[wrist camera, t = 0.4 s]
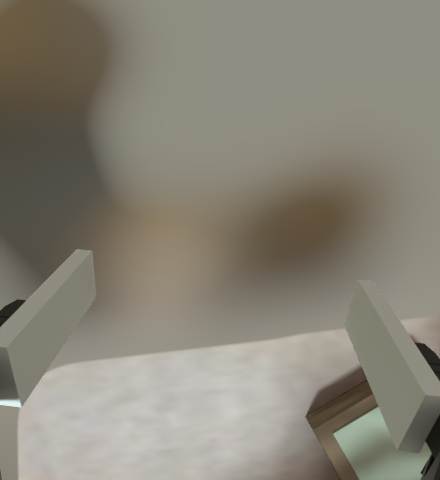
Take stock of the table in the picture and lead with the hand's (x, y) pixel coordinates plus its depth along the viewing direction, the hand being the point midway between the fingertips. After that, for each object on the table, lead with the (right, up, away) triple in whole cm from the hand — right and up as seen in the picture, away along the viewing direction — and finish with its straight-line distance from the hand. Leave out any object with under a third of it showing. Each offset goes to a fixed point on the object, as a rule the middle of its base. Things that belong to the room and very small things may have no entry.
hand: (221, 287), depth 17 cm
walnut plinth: (+23, -25, +31) cm, 46 cm away
